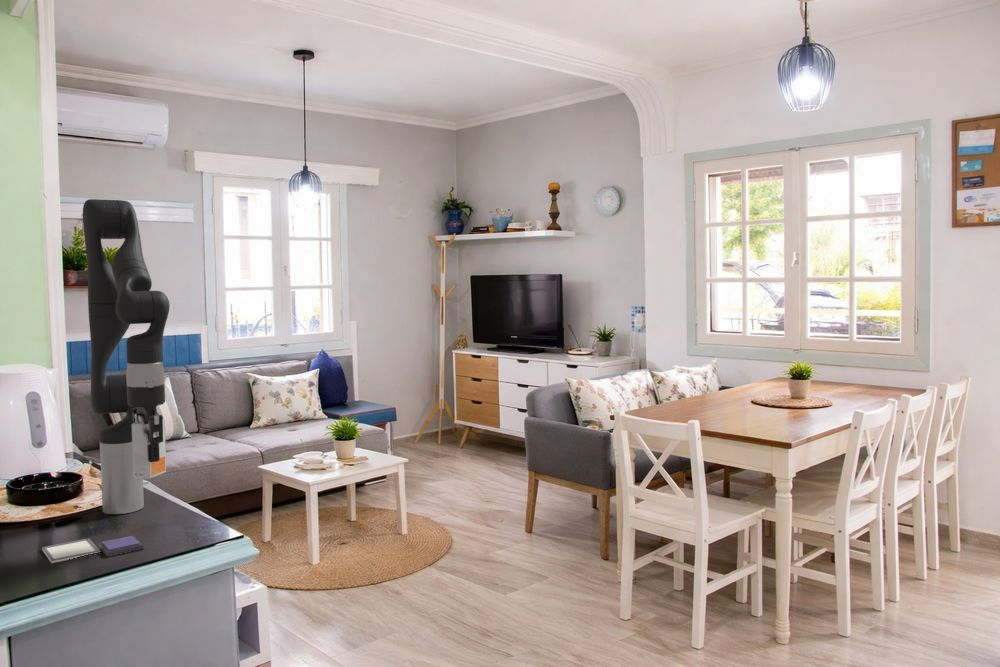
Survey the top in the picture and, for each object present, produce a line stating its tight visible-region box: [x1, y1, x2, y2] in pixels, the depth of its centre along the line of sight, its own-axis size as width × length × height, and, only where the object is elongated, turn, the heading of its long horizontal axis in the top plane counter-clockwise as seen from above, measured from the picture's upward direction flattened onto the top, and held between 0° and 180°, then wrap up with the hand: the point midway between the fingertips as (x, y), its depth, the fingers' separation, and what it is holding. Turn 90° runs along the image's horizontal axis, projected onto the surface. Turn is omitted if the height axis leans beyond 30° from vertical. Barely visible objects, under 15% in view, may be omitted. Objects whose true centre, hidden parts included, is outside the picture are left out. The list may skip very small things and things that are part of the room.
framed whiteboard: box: [41, 537, 101, 564], centre depth 167 cm, size 10×9×1 cm
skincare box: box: [132, 419, 167, 480], centre depth 174 cm, size 6×4×12 cm
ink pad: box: [98, 535, 144, 557], centre depth 168 cm, size 7×7×1 cm
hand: (148, 458), depth 174 cm, fingers closed on skincare box, 7 cm apart
